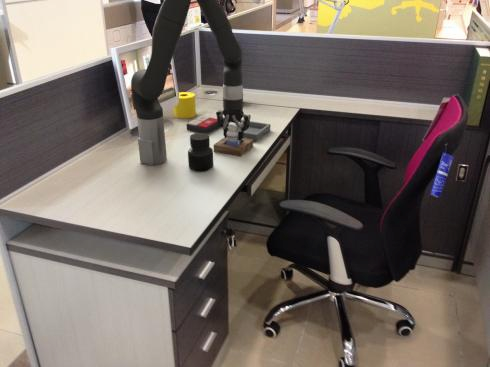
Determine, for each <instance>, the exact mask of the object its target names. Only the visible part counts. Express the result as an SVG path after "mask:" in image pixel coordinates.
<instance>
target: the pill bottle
mask: <svg viewBox="0 0 490 367" xmlns="http://www.w3.org/2000/svg"><path fill="white" fill-rule="evenodd" d="M238 132H239V130H238V127H237V126H236V124H235V123H231V124H229V126H228V131H227V145H233V146H238V145H240V141H239V140H238Z"/></svg>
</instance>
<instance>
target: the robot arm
mask: <svg viewBox="0 0 490 367" xmlns="http://www.w3.org/2000/svg"><path fill="white" fill-rule="evenodd" d="M191 2H192V0H163V2H162V4H161V6H160V8H159V10H158V13H157V16H156V19H155V22H154V25H153V27H152V32H151V33H152V34H151V35H152V36H151V53H150V54H151V55H150V58H149V62H148V64H147V67H146V69H145V68H144V69H142V68H141V69H139V70H137V71H135V72H134V73H133V74H132V76H131V80H130V88H131V89H130V90H131V95H132V96H131V97H132V101H133V107H134V111H135V113H136V118H137V128H138V139H137V145H138V153H139V160H140V164H144V165H149V166H156V165H162V164H163V163H165V162H167V160H168V159H167V145H166V133H165V121H164V110H163V107H162V105H161V103H160V100H159V98H160V96H161V95H162V94H163V92H164V89H165V86H166V83H167V78H168V73H169V70H170V66H171V62H172V59H173V57H174V55H175V51H176V49H177V45H178V42H179V41H180V38H181V36H182V32H183V29H184V27H185V24H186V21H187V17H188V13H189V11H190V10H189V9H190V6H191ZM196 3H197V4H198V7H199V8H200V10H201V13H202V15H203V16H204V19H205V21H206V23H207V25H208V27H209V29H210V32H211V33H212V35H213V36H214V39H215V42H216V44H217V47H218V50H219V51H220V54H221V57H222V58H223V71H222V72H223V73H222V82H223V83H222V108H223V109H222V110H221V109H220V110H218V111H216V113H215V115H217V120H218V125H219V127H220V128H222V130H223V131H222V132H223V134H222V135H223V137H225V138H227V131H228V126H229V125H230V123H232V124H236V126H237V127H238V130H239V132H238V140H239V141H241V140H242V139H243V138H244V131H246V130H247V129H248V128H249V123H250V121H251V118H252V117H251V114H245V113H244V86H243V87H242V84H243V71H242V69H243V68H242V66H243V65H242V64H243V46H242V44H241V43H240V41H238V40H237V39H236V37H235V35H234V33H233V28H232V25H231V23H230V20H229V19H228V16H227V14H226V12H225V10H224V8H223V6H222V5H221V2H219V0H196ZM223 117H225V121H224V120H223ZM242 120H245V121H244V126H243V121H242Z"/></svg>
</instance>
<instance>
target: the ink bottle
mask: <svg viewBox="0 0 490 367" xmlns="http://www.w3.org/2000/svg"><path fill="white" fill-rule="evenodd" d="M210 142H211V141H210V134H206V133H198V132H194V133H191V135H189V143H190V148H188V150H187V159H188V160H187V161H188V168H189V170H191V171H193V172H197V173H198V172H199V173H202V172H203V173H204V172H207V171H210V170H212V169H213V168H214V149H212V147H210V145H211V144H210Z"/></svg>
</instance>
